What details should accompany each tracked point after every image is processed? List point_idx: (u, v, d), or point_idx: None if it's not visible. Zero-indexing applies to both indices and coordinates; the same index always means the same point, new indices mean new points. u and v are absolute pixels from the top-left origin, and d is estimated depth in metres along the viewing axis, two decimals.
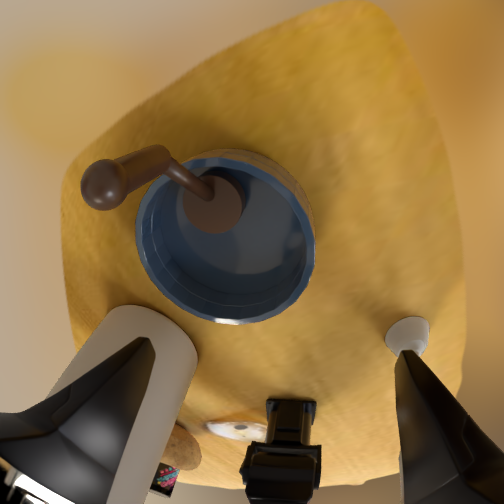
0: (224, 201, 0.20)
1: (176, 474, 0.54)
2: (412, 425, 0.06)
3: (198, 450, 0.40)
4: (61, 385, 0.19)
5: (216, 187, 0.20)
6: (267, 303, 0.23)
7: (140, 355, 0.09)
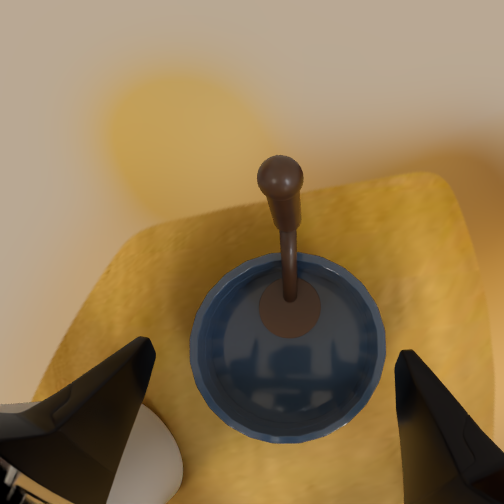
0: (304, 306, 0.20)
1: None
2: (412, 425, 0.06)
3: None
4: (12, 407, 0.11)
5: (301, 291, 0.20)
6: (310, 427, 0.17)
7: (140, 355, 0.09)
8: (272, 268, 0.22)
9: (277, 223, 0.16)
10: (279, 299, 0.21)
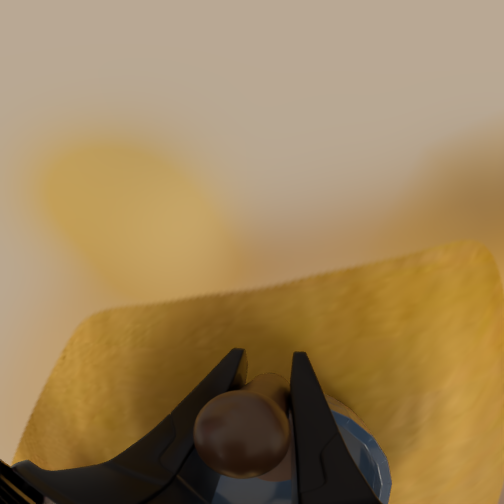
0: None
1: None
2: None
3: None
4: None
5: None
6: None
7: (240, 369, 0.09)
8: None
9: None
10: None
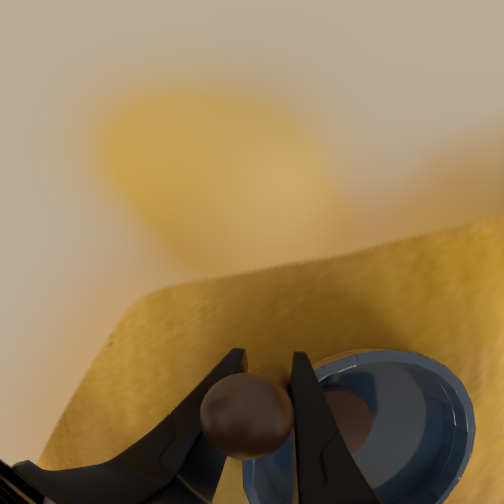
0: (347, 414, 0.13)
1: None
2: None
3: None
4: None
5: (331, 404, 0.14)
6: None
7: (240, 369, 0.09)
8: None
9: None
10: None
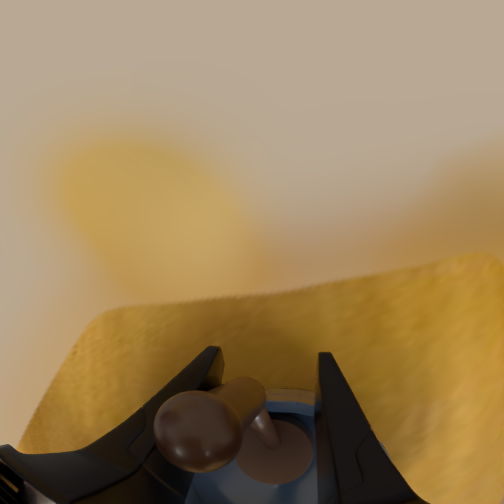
0: (291, 451, 0.13)
1: None
2: (319, 431, 0.07)
3: None
4: None
5: (285, 435, 0.13)
6: None
7: (214, 367, 0.09)
8: None
9: None
10: (258, 446, 0.13)
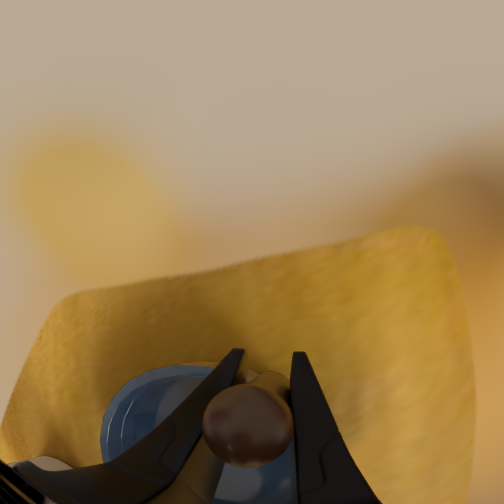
0: None
1: None
2: None
3: None
4: None
5: None
6: None
7: (241, 369, 0.09)
8: None
9: None
10: None
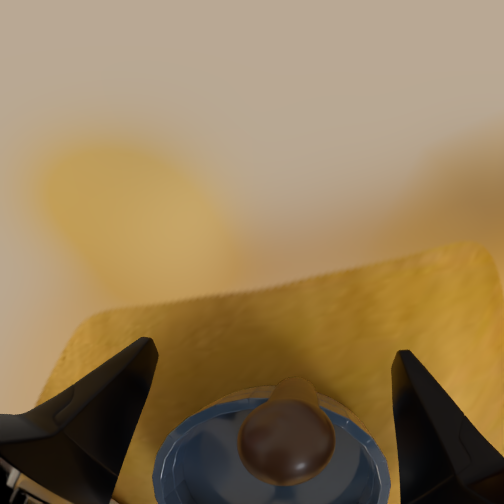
0: None
1: None
2: (408, 425, 0.06)
3: None
4: None
5: None
6: None
7: (143, 356, 0.09)
8: None
9: None
10: None
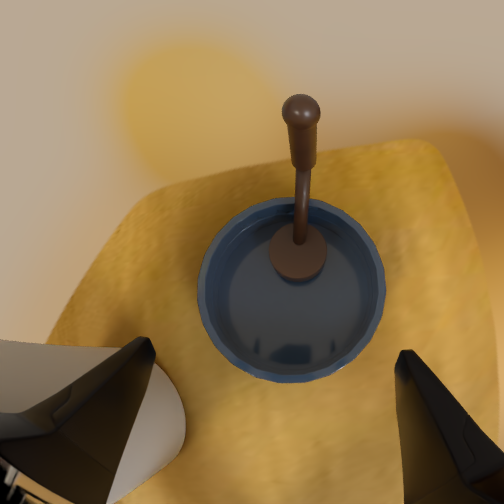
0: (311, 250, 0.21)
1: None
2: (412, 425, 0.06)
3: None
4: None
5: (310, 236, 0.22)
6: (316, 368, 0.19)
7: (140, 355, 0.09)
8: (276, 215, 0.23)
9: (294, 159, 0.17)
10: (288, 241, 0.22)
